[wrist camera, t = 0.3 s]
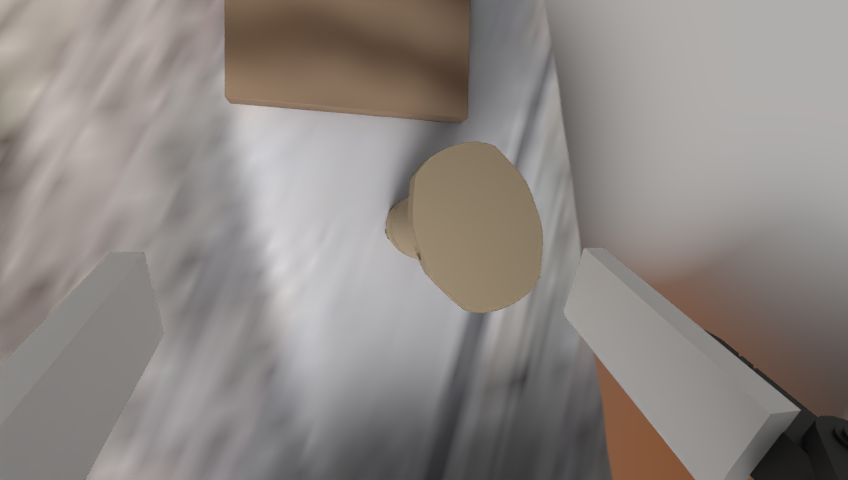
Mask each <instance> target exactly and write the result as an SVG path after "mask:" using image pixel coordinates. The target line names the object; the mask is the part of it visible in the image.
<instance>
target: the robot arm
mask: <svg viewBox="0 0 848 480" xmlns="http://www.w3.org/2000/svg"><path fill="white" fill-rule="evenodd" d="M563 314H564V315H565V317H566V318H567V319H568V320H569V322H570V323H571V324H572V325H573V327H574V328H575V329H576V330H577V332H578V333H579V334H580V335H581V337H582V338H583V339H584V340H585V342H586V343H587V344H588V345H589V347H590V348H591V349H592V350H593V352H594V353H595V354H596V355H597V357H598V358H599V359H600V360H601V362H602V363H603V364H604V365H605V367H606V368H607V369H608V371H609V372H610V373H611V374H612V376H613V377H614V378H615V379H616V381H617V382H618V383H619V384H620V386H621V387H622V388H623V389H624V391H625V392H626V393H627V394H628V396H629V397H630V398H631V399H632V401H633V402H634V403H635V404H636V406H637V407H638V408H639V409H640V411H641V412H642V413H643V414H644V416H645V417H646V418H647V419H648V421H649V422H650V423H651V425H652V426H653V427H654V428H655V429H656V431H657V432H658V433H659V435H660V436H661V437H662V438H663V440H664V441H665V442H666V443H667V445H668V446H669V447H670V448H671V450H672V451H673V452H674V453H675V455H676V456H677V457H678V458H679V460H680V461H681V462H682V463H683V465H684V466H685V467H686V468H687V470H688V471H689V472H690V473H691V475H692V476H693V477H694V478H695V480H747V479H748V478H749V476H751V477H752V478H753V479H754V480H848V421H847V420H845V419H841V418H837V417H833V416H820V417H819V418H818V417H817V416H816V415H814V414H813V413H812V412H810V411H809V410H808V409H807V408H805V407H804V406H803V405H802V404H800V403H799V402H798V401H797V400H795V399H794V398H793V397H792V396H791V395H789V394H788V393H787V392H786V391H784V390H783V389H782V388H781V387H779V386H778V385H777V384H776V383H774V382H773V381H772V380H771V379H770V378H768V377H767V376H766V375H765V374H763V373H762V372H761V371H760V370H758V369H754V368H753V365H752V364H751V363H750V362H748V361H747V360H746V359H745V358H744V357H742V356H739V355H738V352H736V351H735V350H734V349H732V348H731V347H730V346H729V345H728V344H726V343H725V342H724V341H722V340H721V339H720V338H718V337H716V336H715V335H713V334H711V333H709V332H707V331H706V330H704V329H702V328H701V327H700V326H698V325H697V324H696V323H695V322H693V321H692V320H691V319H690V318H689V317H687V316H686V315H685V314H684V313H683V312H681V311H680V310H679V309H678V308H677V307H675V306H674V305H673V304H672V303H670V302H669V301H668V300H667V299H666V298H664V297H663V296H662V295H661V294H660V293H658V292H657V291H656V290H654V289H653V288H652V287H651V286H650V285H649V284H647V283H646V282H645V281H644V280H643V279H641V278H640V277H639V276H638V275H636V274H635V273H634V272H633V271H632V270H630V269H629V268H628V267H627V266H626V265H624V264H623V263H622V262H621V261H620V260H618V259H617V258H616V257H615V256H613V255H612V254H611V253H610V252H609V251H607V250H606V249H605V248H584V250H583V253H582V256H581V259H580V262H579V265H578V268H577V271H576V274H575V277H574V280H573V283H572V286H571V290H570V293H569V296H568V299H567V302H566V305H565V308H564V311H563ZM163 335H164V329H163V325H162V321H161V317H160V313H159V309H158V305H157V301H156V297H155V293H154V290H153V286H152V282H151V278H150V274H149V270H148V266H147V262H146V258H145V254H144V252H110V253H109V254H108V255H107V257H106V258H105V259H104V260H103V261H102V262H101V263H100V264H99V265H98V266H97V267H96V268H95V269H94V270H93V271H92V272H91V273H90V274H89V275H88V276H87V277H86V278H85V279H84V280H83V281H82V282H81V283H80V284H79V285H78V286H77V287H76V288H75V289H74V290H73V292H72V293H71V294H70V295H69V296H68V297H67V298H66V299H65V300H64V301H63V302H62V303H61V304H60V305H59V306H58V307H57V308H56V309H55V310H54V311H53V312H52V313H51V314H50V315H49V316H48V317H47V318H46V319H45V320H44V321H43V322H42V323H41V324H40V325H39V326H38V328H37V329H36V330H35V331H34V332H33V333H32V334H31V335H30V336H29V337H28V338H27V339H26V340H25V341H24V342H23V343H22V344H21V345H20V346H19V347H18V348H17V349H16V350H15V351H14V352H13V353H12V354H11V355H10V356H9V357H8V358H7V359H6V360H5V361H4V362H3V364H2V365H1V366H0V480H85V479H86V477H87V475H88V473H89V471H90V469H91V468H92V466H93V464H94V462H95V460H96V458H97V457H98V455H99V453H100V451H101V449H102V447H103V446H104V444H105V442H106V440H107V438H108V436H109V435H110V433H111V431H112V429H113V427H114V425H115V423H116V422H117V420H118V418H119V416H120V414H121V412H122V411H123V409H124V407H125V405H126V403H127V401H128V400H129V398H130V396H131V394H132V392H133V390H134V388H135V387H136V385H137V383H138V381H139V379H140V377H141V376H142V374H143V372H144V370H145V368H146V366H147V365H148V363H149V361H150V359H151V357H152V355H153V354H154V352H155V350H156V348H157V346H158V344H159V342H160V341H161V339H162V337H163Z"/></svg>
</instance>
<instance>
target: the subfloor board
mask: <svg viewBox="0 0 848 480" xmlns="http://www.w3.org/2000/svg"><path fill="white" fill-rule="evenodd" d="M469 38H470V0H225V97H226V98H227V100H228V101H229V102H230V103H234V104H246V105H257V106H269V107H280V108H292V109H303V110H315V111H326V112H338V113H349V114H361V115H372V116H384V117H396V118H407V119H419V120H430V121H442V122H453V123H461V122H463V121H464V120H466V119H467V115H468V76H469Z"/></svg>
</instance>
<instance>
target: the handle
mask: <svg viewBox="0 0 848 480" xmlns="http://www.w3.org/2000/svg"><path fill="white" fill-rule="evenodd" d="M385 233H386V236H387V237H388V239H390V241H391V242H392V244H393V245H394V246H395V247H396V248H397V249H398V250H400V251H401V252H402V253H404V254H406V255H407V256H410V257H412V258H415V259H418V260H419V262H420V264H421V266H422V268H423V270H424V272H425V273H426V274H427V276H428V277H429V278H430V279H431V280H432V281H433V282H434V283H435V284H436V285H437V286H438V287H439V288H440V289H441V290H442V291H443V292H444V293H445V294H446V295H447V296H448V297H449V298H450V299H452V300H453V301H454V302H455V303H456V304H457V305H458V306H460V307H461V308H463V309H464V310H466V311H470V312H478V313H487V312H492V311H497V310H500V309H502V308H505V307H508V306H510V305H511V304H513V303H515V302H517V301H519V300H520V299H521V298H523V297H524V296H525V295H526V294H528V293H529V291H530V290H531V289H532V288H533V287H534V285H535V284H536V282H537V281H538V279H539V278H540V271H541V260H542V247H543V234H542V226H541V222H540V218H539V215H538V212H537V209H536V206H535V203H534V200H533V197H532V194H531V192H530V189H529V187H528V185H527V183H526V181H525V180H524V178H523V177H522V175H521V174H520V173H519V171H518V170H517V169H516V168H515V167H514V166H513V165H512V163H511V162H510V161H509V160H508V159H507V158H506V157H505V156H504V155H503V154H502V153H501V152H500V151H499V150H498V149H497V147H496V146H494V145H490V144H487V143H481V142H467V143H461V144H457V145H453V146H450V147H448V148H446V149H444V150H442V151H439V152H438V153H436V154H435V155H433V156H432V157H430V158H429V159H428V160H426V161H425V162H423V163H422V165H421V166H420V167H419V168H418V169H417V170H416V171H415V173H414V174H413V176H412V177H411V179H410V186H409V197H406V198H404V199H402V200H401V201H400V202H398V203H397V204H396V205H395V206H394V207H393V208H392V209H391V210H390V211H389V213H388V218H387V222H386V229H385Z"/></svg>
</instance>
